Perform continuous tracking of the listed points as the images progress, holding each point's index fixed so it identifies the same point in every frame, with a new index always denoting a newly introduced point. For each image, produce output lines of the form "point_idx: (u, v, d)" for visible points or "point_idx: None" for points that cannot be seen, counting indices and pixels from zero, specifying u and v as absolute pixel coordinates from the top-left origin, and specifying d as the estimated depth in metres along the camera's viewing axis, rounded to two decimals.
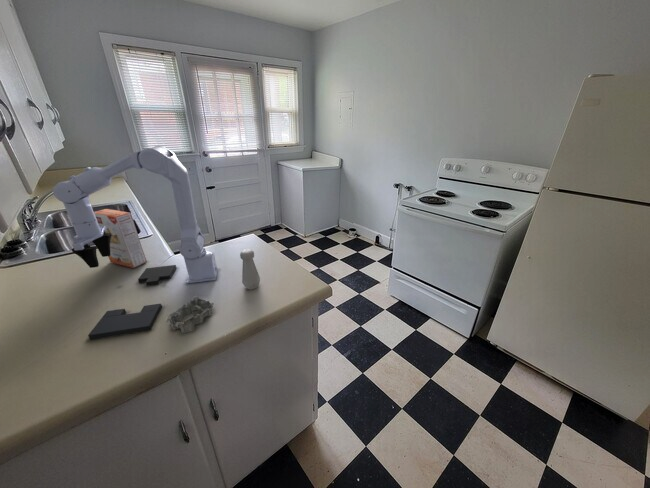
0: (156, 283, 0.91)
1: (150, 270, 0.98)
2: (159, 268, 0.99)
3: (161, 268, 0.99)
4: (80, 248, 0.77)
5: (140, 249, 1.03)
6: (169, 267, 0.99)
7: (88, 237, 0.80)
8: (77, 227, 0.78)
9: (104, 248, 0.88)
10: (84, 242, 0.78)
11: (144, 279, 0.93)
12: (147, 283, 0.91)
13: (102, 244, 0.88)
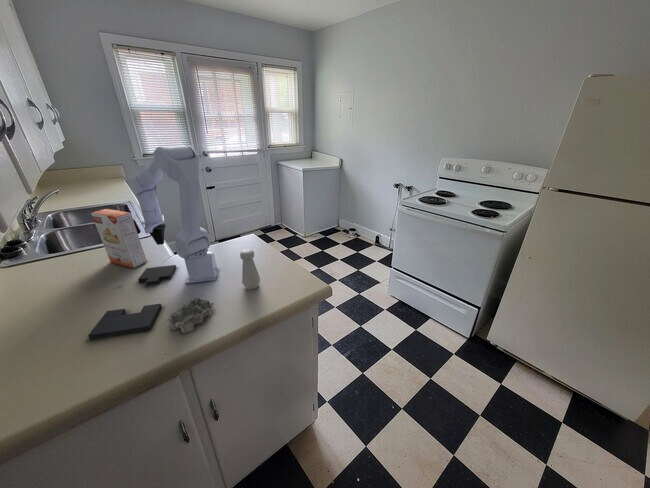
0: (156, 283, 0.91)
1: (150, 270, 0.98)
2: (159, 268, 0.99)
3: (161, 268, 0.99)
4: (150, 231, 0.93)
5: (140, 249, 1.03)
6: (169, 267, 0.99)
7: (154, 223, 0.96)
8: (146, 214, 0.95)
9: None
10: (152, 226, 0.94)
11: (144, 279, 0.93)
12: (147, 283, 0.91)
13: None
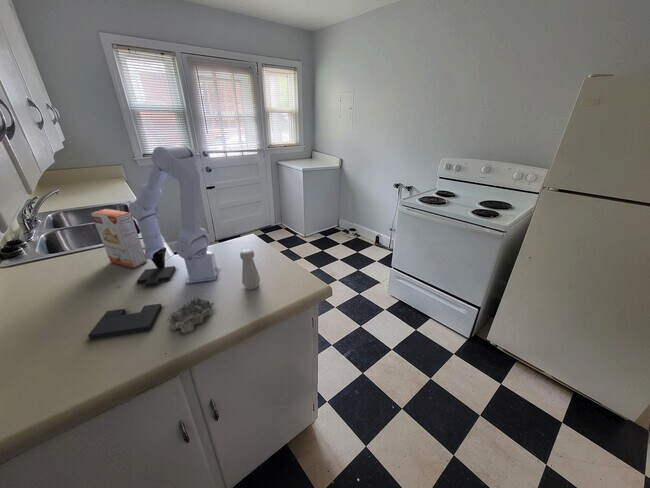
0: (155, 284, 0.91)
1: (149, 271, 0.97)
2: (158, 269, 0.98)
3: (161, 269, 0.98)
4: (150, 257, 0.91)
5: (140, 249, 1.03)
6: (168, 268, 0.99)
7: (154, 248, 0.94)
8: (146, 239, 0.93)
9: None
10: (153, 252, 0.92)
11: (143, 280, 0.92)
12: (146, 284, 0.90)
13: None
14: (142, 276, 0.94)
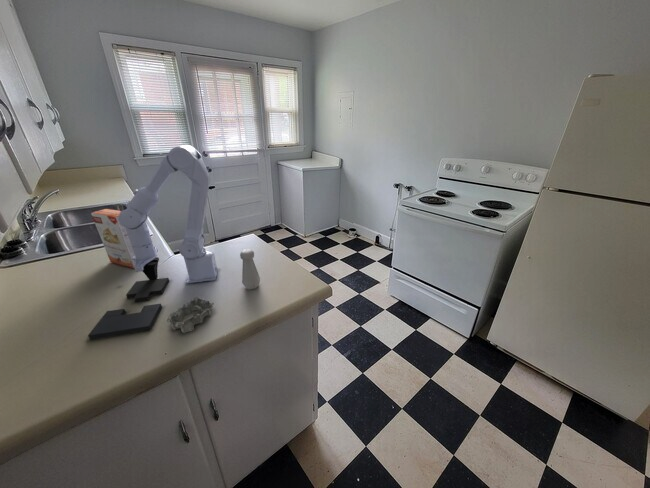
0: (146, 299, 0.83)
1: (140, 284, 0.89)
2: (150, 281, 0.91)
3: (153, 281, 0.91)
4: (140, 269, 0.83)
5: None
6: (161, 280, 0.91)
7: (146, 258, 0.87)
8: (136, 250, 0.85)
9: None
10: (143, 264, 0.84)
11: (133, 294, 0.84)
12: (136, 299, 0.82)
13: None
14: (132, 289, 0.86)
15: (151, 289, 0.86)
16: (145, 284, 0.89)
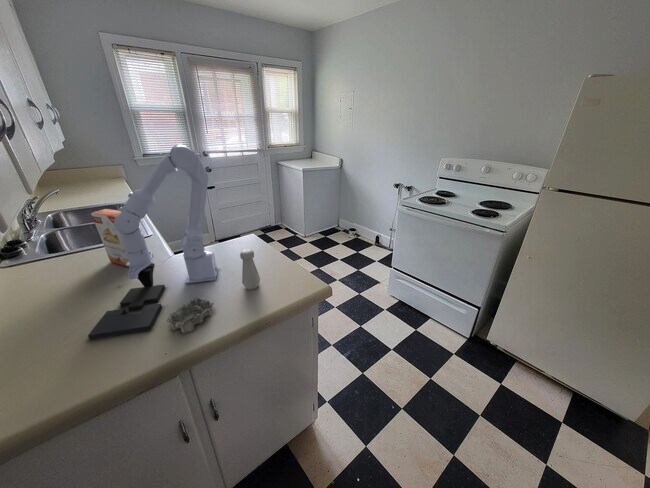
0: (140, 308, 0.79)
1: (135, 291, 0.85)
2: (145, 289, 0.87)
3: (148, 289, 0.87)
4: (135, 277, 0.79)
5: None
6: (157, 287, 0.87)
7: (140, 265, 0.83)
8: (130, 256, 0.81)
9: None
10: (138, 271, 0.80)
11: (127, 303, 0.80)
12: (130, 308, 0.78)
13: None
14: (126, 297, 0.82)
15: (146, 297, 0.82)
16: (140, 292, 0.85)
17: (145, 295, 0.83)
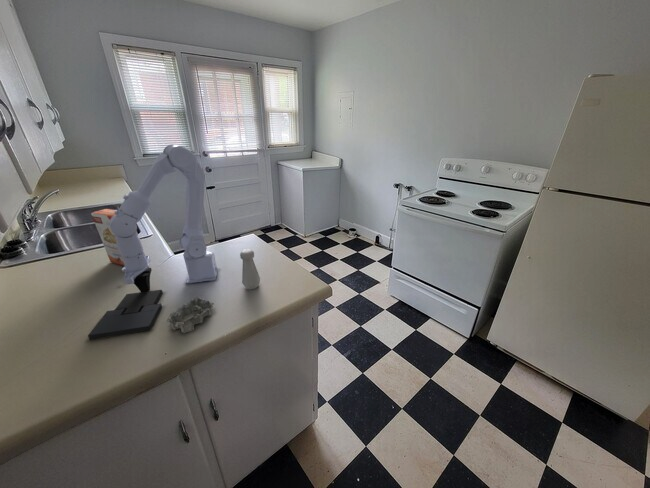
0: None
1: (131, 297, 0.83)
2: (142, 294, 0.84)
3: (144, 294, 0.84)
4: (131, 282, 0.77)
5: None
6: (154, 293, 0.84)
7: (137, 270, 0.80)
8: (126, 261, 0.79)
9: None
10: (134, 276, 0.78)
11: None
12: None
13: None
14: (122, 303, 0.80)
15: (142, 303, 0.80)
16: (136, 297, 0.82)
17: (141, 301, 0.81)
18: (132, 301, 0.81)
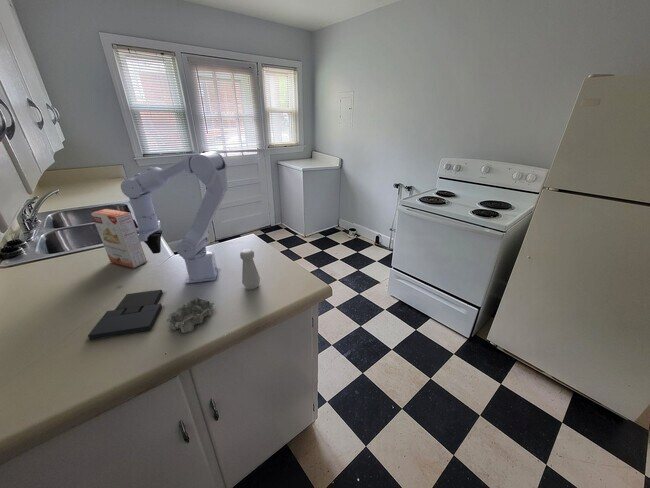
0: None
1: (131, 297, 0.83)
2: (142, 294, 0.84)
3: (144, 294, 0.84)
4: (144, 239, 0.84)
5: (140, 249, 1.03)
6: (154, 293, 0.84)
7: (149, 230, 0.87)
8: (140, 220, 0.85)
9: None
10: (147, 234, 0.85)
11: None
12: None
13: None
14: (122, 303, 0.80)
15: (142, 303, 0.80)
16: (136, 297, 0.82)
17: (141, 301, 0.81)
18: (132, 301, 0.81)
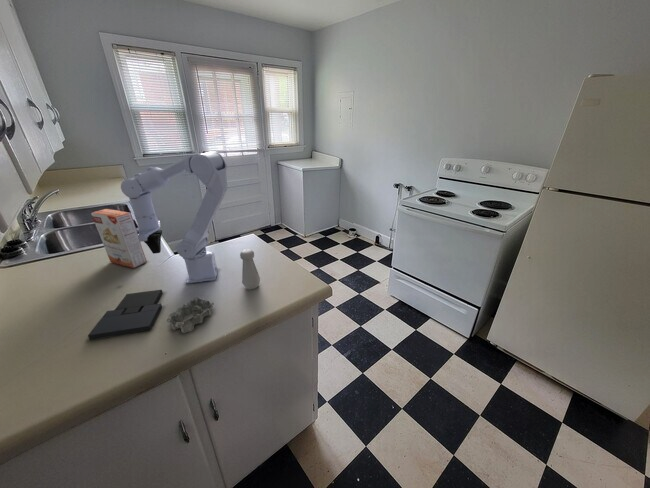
0: None
1: (131, 297, 0.83)
2: (142, 294, 0.84)
3: (144, 294, 0.84)
4: (144, 239, 0.84)
5: (140, 249, 1.03)
6: (154, 293, 0.84)
7: (149, 230, 0.87)
8: (140, 220, 0.85)
9: None
10: (147, 234, 0.85)
11: None
12: None
13: None
14: (122, 303, 0.80)
15: (142, 303, 0.80)
16: (136, 297, 0.82)
17: (141, 301, 0.81)
18: (132, 301, 0.81)
